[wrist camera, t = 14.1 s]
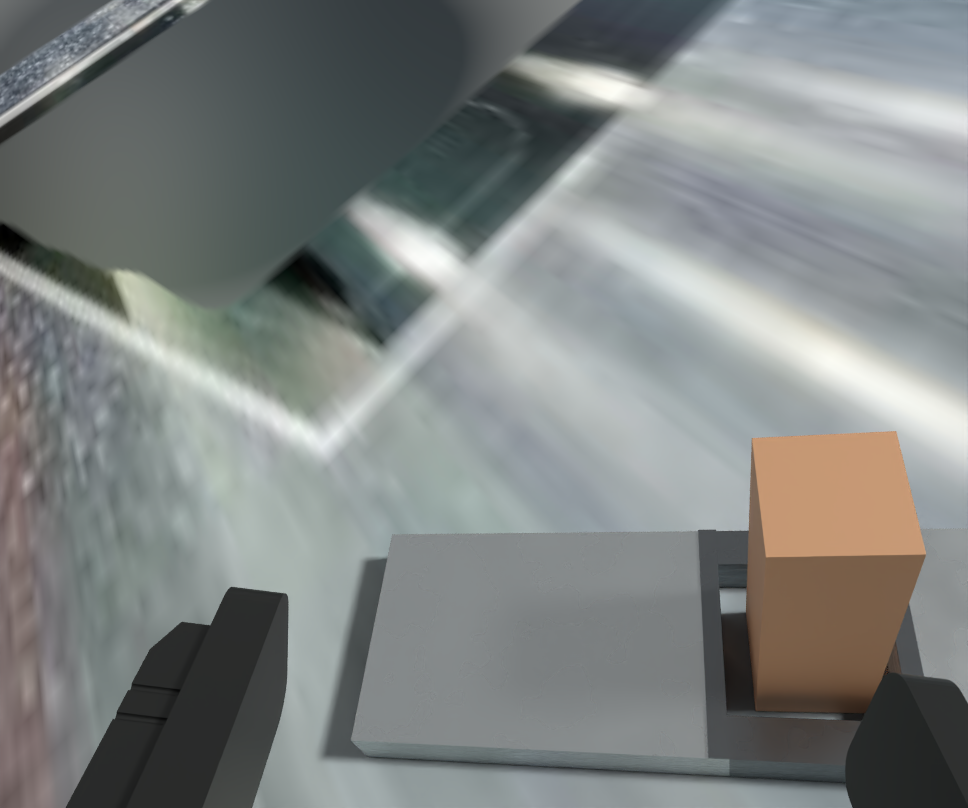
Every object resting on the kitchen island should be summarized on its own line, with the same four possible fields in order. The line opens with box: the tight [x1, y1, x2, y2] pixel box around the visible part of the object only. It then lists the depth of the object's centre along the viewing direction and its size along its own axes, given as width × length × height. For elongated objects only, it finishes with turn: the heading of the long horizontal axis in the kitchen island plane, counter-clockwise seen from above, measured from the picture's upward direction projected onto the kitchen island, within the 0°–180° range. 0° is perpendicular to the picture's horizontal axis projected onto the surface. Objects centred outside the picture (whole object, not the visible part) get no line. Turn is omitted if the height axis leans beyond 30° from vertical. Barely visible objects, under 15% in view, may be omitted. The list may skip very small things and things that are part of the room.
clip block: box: [746, 431, 926, 713], centre depth 29 cm, size 4×4×12 cm
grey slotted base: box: [351, 529, 968, 783], centre depth 33 cm, size 26×9×2 cm, turn 83°
